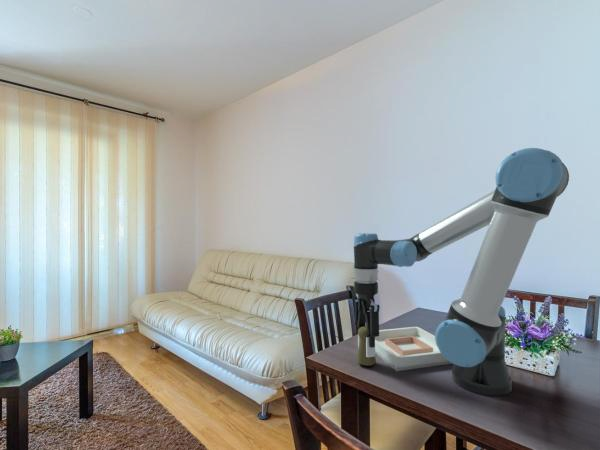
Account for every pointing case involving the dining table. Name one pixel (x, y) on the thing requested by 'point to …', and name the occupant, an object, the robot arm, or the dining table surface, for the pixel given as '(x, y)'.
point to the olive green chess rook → (364, 349)
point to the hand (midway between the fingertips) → (366, 352)
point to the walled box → (408, 348)
